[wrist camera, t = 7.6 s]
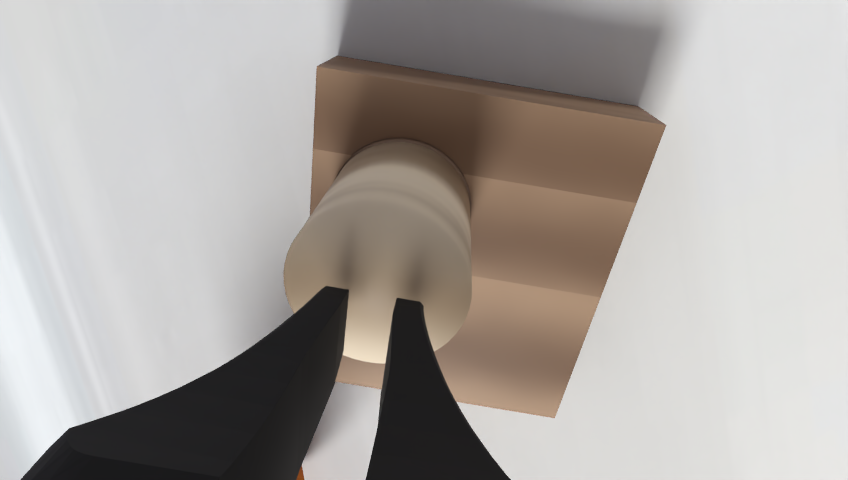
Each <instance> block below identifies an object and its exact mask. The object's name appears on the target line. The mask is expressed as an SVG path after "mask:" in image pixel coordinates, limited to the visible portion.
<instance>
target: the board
mask: <svg viewBox="0 0 848 480" xmlns="http://www.w3.org/2000/svg"><path fill="white" fill-rule="evenodd" d="M665 127H666V125H665V124H664V123H662V122H661V121H659V120H658V119H656V118H655V117H653V116H652V115H650V114H649V113H647V112H646V111H644V110H643V109H641V108H640V107H638V106H633V105H627V104H621V103H615V102H609V101H603V100H597V99H591V98H585V97H579V96H573V95H568V94H562V93H556V92H550V91H544V90H538V89H532V88H526V87H520V86H514V85H508V84H502V83H496V82H490V81H484V80H478V79H472V78H467V77H461V76H455V75H449V74H443V73H437V72H431V71H425V70H419V69H413V68H407V67H401V66H395V65H389V64H383V63H377V62H372V61H366V60H360V59H354V58H348V57H342V56H336V57H334V58H332V59H330V60H328V61H326V62H324V63H322V64H320V65H319V66H317V73H316V95H315V117H314V139H313V161H312V183H311V204H310V216H311V214H312V213H313V211H314V210H315V208H316V207H317V206H318V204H319V203H320V201H321V200H322V198H323V197H324V195H325V194H326V192H327V191H328V189H329V188H330V186H331V185H332V184H333V182H334V180H335V178H336V176H337V174H338V172H339V171H340V169H341V168H342V166H343V165H344V163H345V162H346V161H347V160H348V159H349V158H350V157H351V155H353V154H354V153H355V152H356V151H358V150H359V149H360V148H362V147H364V146H365V145H367V144H370V143H372V142H374V141H378V140H382V139H386V138H411V139H416V140H420V141H423V142H425V143H428V144H430V145H432V146H434V147H436V148H438V149H440V150H441V151H442V152H444V153H445V154H446V155H448V156H449V157H450V158H451V159H452V160H453V161H454V162H455V164H456V165H457V166H458V167H459V169H460V170H461V172H462V173H463V175H464V177H465V179H466V182H467V184H468V187H469V191H470V195H471V219H470V224H471V266H472V299H471V304H470V309H469V311H468V314H467V317H466V319H465V321H464V323H463V325H462V327H461V328H460V329H459V331H458V332H457V333H456V335H455V336H454V337H453V338H452V339H451V340H450V341H449V342H447V343H446V344H445V345H444V346H442V347H441V348H440V349H438V350H436V351H434V353H435V356H436V359H437V361H438V364H439V367H440V369H441V371H442V374H443V376H444V378H445V381H446V383H447V385H448V387H449V389H450V391H451V393H452V395H453V397H454V399H455V401H456V402H461V403H467V404H473V405H479V406H485V407H491V408H497V409H503V410H509V411H515V412H521V413H527V414H533V415H539V416H545V417H551V418H555V416H556V413H557V411H558V408H559V405H560V403H561V400H562V397H563V395H564V392H565V390H566V387H567V384H568V382H569V379H570V376H571V374H572V371H573V369H574V366H575V363H576V361H577V358H578V355H579V353H580V350H581V348H582V345H583V342H584V340H585V337H586V334H587V332H588V329H589V326H590V324H591V321H592V319H593V316H594V313H595V311H596V308H597V305H598V303H599V300H600V298H601V295H602V292H603V290H604V287H605V284H606V282H607V279H608V277H609V274H610V271H611V269H612V266H613V263H614V261H615V258H616V256H617V253H618V250H619V248H620V245H621V242H622V240H623V237H624V235H625V232H626V229H627V227H628V224H629V221H630V219H631V216H632V214H633V211H634V208H635V206H636V203H637V200H638V198H639V195H640V193H641V190H642V187H643V185H644V182H645V179H646V177H647V174H648V172H649V169H650V166H651V164H652V161H653V158H654V156H655V153H656V151H657V148H658V145H659V143H660V140H661V137H662V135H663V132H664V130H665ZM384 370H385V364H382V363H371V362H365V361H360V360H356V359H353V358H350V357H347V356H344V355H342V359H341V362H340V366H339V370H338V373H337V377H336V380H335V382H341V383H347V384H353V385H359V386H365V387H371V388H377V389H382V383H383V376H384Z"/></svg>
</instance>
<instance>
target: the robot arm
mask: <svg viewBox="0 0 848 480" xmlns="http://www.w3.org/2000/svg"><path fill="white" fill-rule="evenodd" d="M348 298H349V290H348V289H342V288H336V287H330V286H325V287H324V288H322V289H321V290H320V291H319V292H318V293H317V294H316V295H314V296H313V297H312V298H311V299H310V300H309V301H308V302H307V303H306V304H305V305H304V306H302V307H301V308H300V309H299V310H298V311H297V312H296V313H294V314H293V315H292V316H291V317H290V318H288V319H287V320H286V321H285V322H284V323H282V324H281V325H280V326H279V327H278V328H276V329H275V330H274V331H272V332H271V333H270V334H268V335H267V336H266V337H264V338H263V339H262V340H260V341H259V342H257V343H256V344H255V345H253V346H252V347H250V348H249V349H248V350H246V351H245V352H243V353H242V354H240V355H238V356H237V357H235V358H234V359H232V360H230V361H229V362H227V363H226V364H224V365H222V366H221V367H219V368H217V369H215V370H213V371H212V372H210V373H208V374H206V375H204V376H202V377H200V378H198V379H196V380H194V381H192V382H190V383H188V384H186V385H184V386H182V387H180V388H178V389H175V390H173V391H171V392H169V393H166V394H164V395H162V396H159V397H157V398H155V399H152V400H150V401H147V402H145V403H142V404H140V405H137V406H134V407H132V408H129V409H126V410H124V411H121V412H118V413H115V414H112V415H109V416H106V417H103V418H100V419H97V420H94V421H91V422H88V423H85V424H82V425H78V426H75V427H72V428H69V429H68V430H67V431H66V432H65V433H64V434H63V435H62V436H61V437H60V438H59V439H58V440H57V441H56V442H55V443H54V444H53V445H52V446H51V447H50V448H49V449H48V450H47V451H46V452H45V453H44V454H43V455H42V456H41V457H40V459H39V460H38V461H37V462H36V463H35V464H34V465H33V466H32V468H31V469H30V470H29V471H28V472H27V473H26V474H25V475H24V476H23V478H22V479H21V480H296V479H297V476H298V474H299V471H300V468H301V465H302V463H303V460H304V457H305V455H306V453H307V450H308V448H309V445H310V443H311V440H312V438H313V436H314V433H315V431H316V428H317V426H318V424H319V421H320V419H321V416H322V414H323V411H324V409H325V406H326V404H327V402H328V399H329V397H330V394H331V392H332V389H333V387H334V384H335V380H336V377H337V373H338V370H339V366H340V362H341V359H342V355H343V351H344V341H345V330H346V319H347V309H348ZM366 480H511V479H510V478H509V477H508V476H507V475H506V474H505V473H504V471H503V470H502V469H501V468H500V466H499V465H498V464H497V463H496V461H495V460H494V459H493V458H492V456H491V455H490V454H489V452H488V451H487V449H486V448H485V447H484V445H483V444H482V442H481V441H480V439H479V438H478V437H477V435H476V434H475V432H474V431H473V429H472V428H471V426H470V425H469V423H468V422H467V420H466V418H465V417H464V415H463V413H462V412H461V410H460V408H459V406H458V404H457V403H456V401H455V399H454V397H453V395H452V393H451V391H450V389H449V387H448V385H447V383H446V381H445V378H444V376H443V374H442V371H441V369H440V367H439V364H438V361H437V359H436V356H435V353H434V350H433V347H432V344H431V341H430V338H429V335H428V331H427V327H426V322H425V317H424V306H423V305H422V303H421V302H420V301H414V300H408V299H402V298H397V299H396V302H395V306H394V310H393V315H392V322H391V329H390V336H389V342H388V349H387V356H386V363H385V370H384V376H383V383H382V390H381V399H380V409H379V420H378V428H377V433H376V437H375V442H374V446H373V451H372V455H371V459H370V464H369V468H368V472H367V477H366Z"/></svg>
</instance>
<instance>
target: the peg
mask: <svg viewBox="0 0 848 480" xmlns="http://www.w3.org/2000/svg"><path fill="white" fill-rule="evenodd" d="M470 219H471V195H470V191H469V187H468V184H467V182H466V179H465V177H464V175H463V173H462V172H461V170H460V169H459V167H458V166H457V165H456V164H455V162H454V161H453V160H452V159H451V158H450V157H449V156H448V155H446V154H445V153H444V152H442V151H441V150H440V149H438V148H436V147H434V146H432V145H430V144H428V143H425V142H423V141H420V140H416V139H411V138H386V139H382V140H378V141H374V142H372V143H370V144H367V145H365V146H364V147H362V148H360V149H359V150H358V151H356V152H355V153H354V154H353V155H351V157H350V158H349V159H348V160H347V161H346V162H345V163H344V165H343V166H342V168H341V169H340V171H339V172H338V174H337V176H336V178H335V180H334V182H333V184H332V185H331V186H330V188H329V189H328V191H327V192H326V194H325V195H324V197H323V198H322V200H321V201H320V203H319V204H318V206H317V207H316V208H315V210H314V211H313V213H312V214H311V216H310V217H309V219H308V220H307V222H306V223H305V225H304V226H303V228H302V229H301V230H300V232H299V233H298V235H297V236H296V238H295V239H294V241H293V242H292V244H291V246H290V249H289V251H288V253H287V257H286V260H285V265H284V286H285V292H286V296H287V299H288V302H289V304H290V306H291V308H292V310H293V312H294V313H296V312H297V311H298V310H299V309H300V308H301V307H302V306H304V305H305V304H306V303H307V302H308V301H309V300H310V299H311V298H312V297H313V296H314V295H316V294H317V293H318V292H319V291H320V290H321V289H322V288H324V287H325V286H330V287H336V288H342V289H348V290H349V298H348V309H347V319H346V330H345V341H344V351H343V355H344V356H347V357H350V358H353V359H356V360H360V361H365V362H371V363H382V364H385V363H386V356H387V349H388V342H389V336H390V329H391V322H392V315H393V310H394V306H395V302H396V299H397V298H402V299H408V300H414V301H420V302H421V303H422V305H423V306H424V317H425V322H426V327H427V331H428V335H429V338H430V341H431V344H432V347H433V350H434V351H436V350H438V349H440V348H441V347H442V346H444V345H445V344H446V343H447V342H449V341H450V340H451V339H452V338H453V337H454V336H455V335H456V333H457V332H458V331H459V329H460V328H461V327H462V325H463V323H464V321H465V319H466V317H467V314H468V311H469V309H470V304H471V299H472V266H471V224H470Z"/></svg>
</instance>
